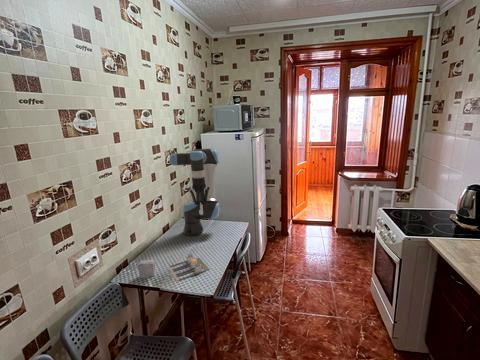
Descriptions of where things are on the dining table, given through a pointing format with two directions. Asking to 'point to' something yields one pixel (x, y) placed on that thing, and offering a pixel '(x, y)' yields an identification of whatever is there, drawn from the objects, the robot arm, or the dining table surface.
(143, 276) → the medicine box
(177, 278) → the panel
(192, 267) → the block
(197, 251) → the dining table surface
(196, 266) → the block
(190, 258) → the block
